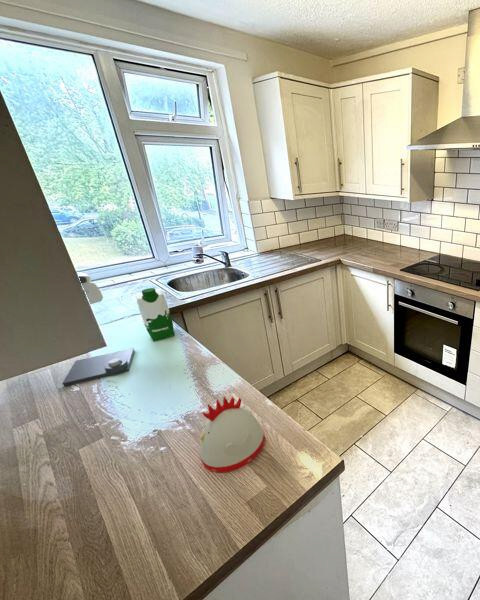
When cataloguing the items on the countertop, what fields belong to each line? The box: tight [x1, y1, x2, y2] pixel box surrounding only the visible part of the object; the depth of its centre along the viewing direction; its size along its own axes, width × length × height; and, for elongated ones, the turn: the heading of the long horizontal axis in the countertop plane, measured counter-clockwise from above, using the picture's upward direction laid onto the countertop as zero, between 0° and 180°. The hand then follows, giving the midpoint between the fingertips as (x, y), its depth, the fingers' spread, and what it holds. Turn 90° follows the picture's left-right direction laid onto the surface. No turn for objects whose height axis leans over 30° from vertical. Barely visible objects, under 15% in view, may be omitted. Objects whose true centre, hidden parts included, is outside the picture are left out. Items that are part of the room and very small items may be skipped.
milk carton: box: [135, 287, 175, 343], centre depth 126 cm, size 9×9×20 cm
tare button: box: [109, 358, 121, 367], centre depth 107 cm, size 3×3×2 cm
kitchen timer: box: [199, 396, 265, 473], centre depth 77 cm, size 14×14×15 cm
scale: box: [62, 347, 136, 388], centre depth 109 cm, size 16×15×3 cm
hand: (68, 324), depth 102 cm, fingers closed on bowl, 6 cm apart
